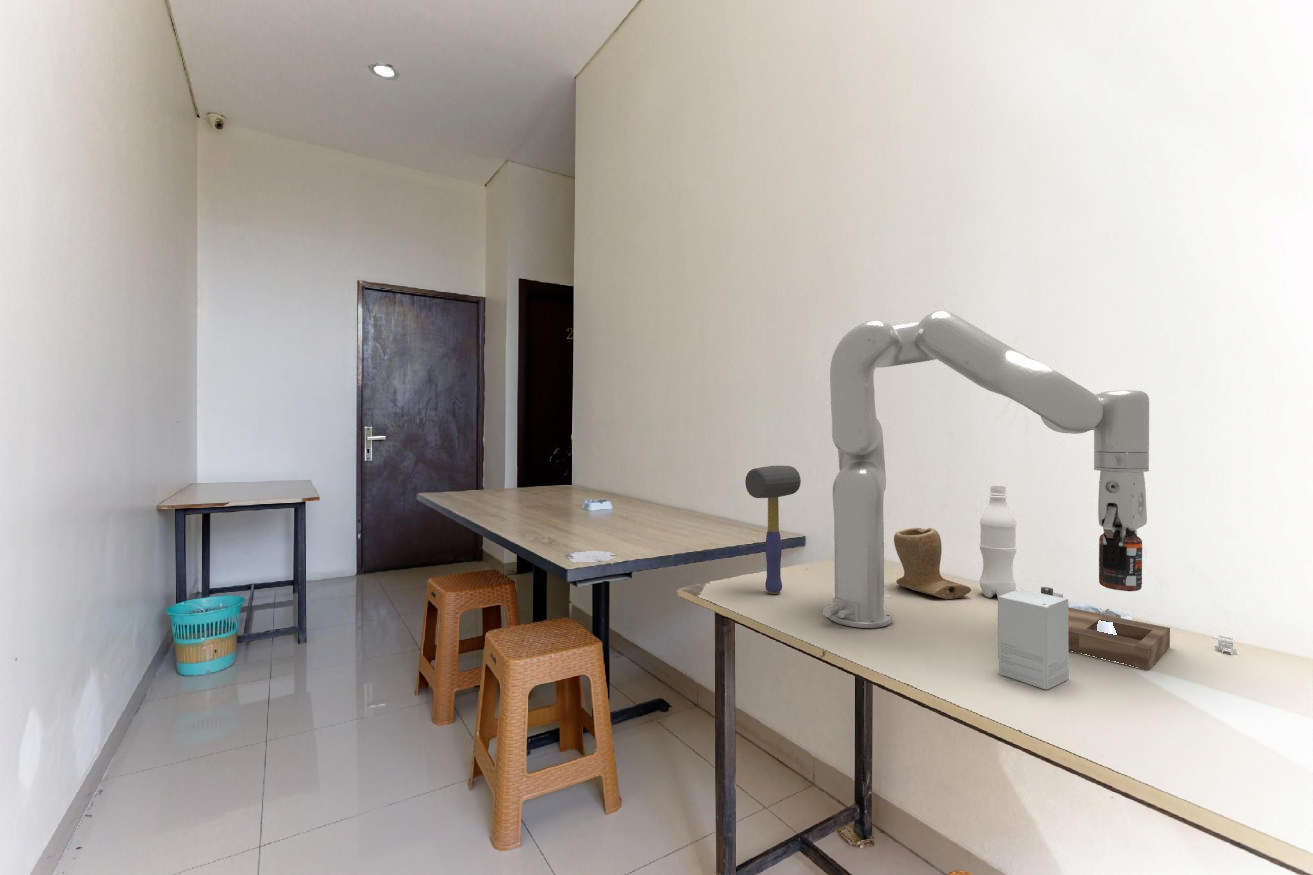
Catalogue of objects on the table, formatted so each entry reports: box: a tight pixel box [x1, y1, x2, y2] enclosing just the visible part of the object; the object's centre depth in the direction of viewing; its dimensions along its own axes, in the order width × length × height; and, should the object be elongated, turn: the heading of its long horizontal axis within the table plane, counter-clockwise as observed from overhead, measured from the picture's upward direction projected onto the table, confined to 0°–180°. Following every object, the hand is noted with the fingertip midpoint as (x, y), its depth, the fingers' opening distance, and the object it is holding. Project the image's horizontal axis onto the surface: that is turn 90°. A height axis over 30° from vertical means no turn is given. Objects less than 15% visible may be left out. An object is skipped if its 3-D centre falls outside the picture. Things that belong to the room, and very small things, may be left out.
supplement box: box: [997, 588, 1070, 691], centre depth 94 cm, size 7×7×13 cm
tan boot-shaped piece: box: [893, 527, 972, 600], centre depth 139 cm, size 15×12×15 cm
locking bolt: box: [1040, 586, 1064, 598], centre depth 117 cm, size 8×3×4 cm, turn 129°
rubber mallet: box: [744, 465, 802, 595], centre depth 140 cm, size 12×8×30 cm, turn 125°
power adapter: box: [1211, 635, 1238, 657], centre depth 102 cm, size 3×3×3 cm
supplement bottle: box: [1098, 525, 1143, 592], centre depth 104 cm, size 6×6×11 cm
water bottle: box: [979, 485, 1017, 598], centre depth 136 cm, size 7×7×25 cm
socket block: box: [1068, 606, 1171, 671], centre depth 109 cm, size 15×22×4 cm
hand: (1120, 564), depth 104 cm, fingers closed on supplement bottle, 5 cm apart
